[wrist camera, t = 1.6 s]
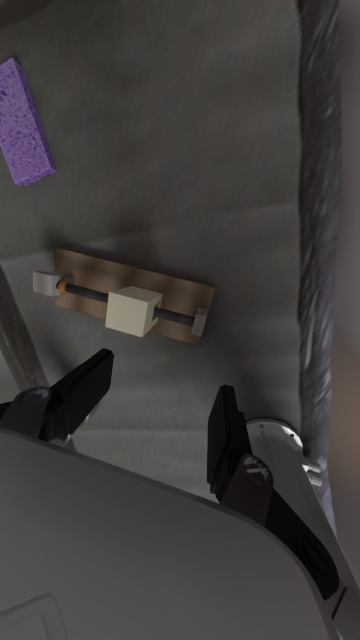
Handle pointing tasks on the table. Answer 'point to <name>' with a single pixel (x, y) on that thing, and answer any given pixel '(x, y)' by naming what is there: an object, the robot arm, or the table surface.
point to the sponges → (21, 128)
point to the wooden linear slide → (105, 276)
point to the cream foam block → (132, 310)
